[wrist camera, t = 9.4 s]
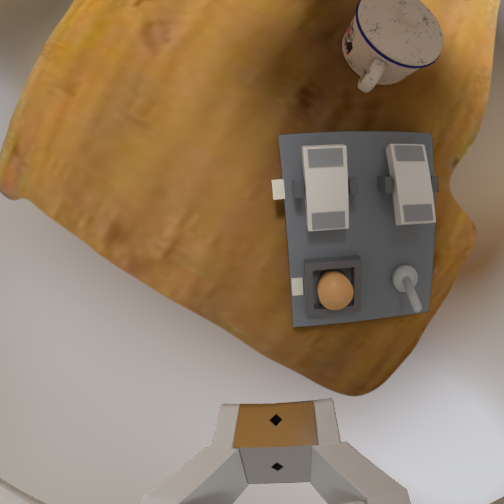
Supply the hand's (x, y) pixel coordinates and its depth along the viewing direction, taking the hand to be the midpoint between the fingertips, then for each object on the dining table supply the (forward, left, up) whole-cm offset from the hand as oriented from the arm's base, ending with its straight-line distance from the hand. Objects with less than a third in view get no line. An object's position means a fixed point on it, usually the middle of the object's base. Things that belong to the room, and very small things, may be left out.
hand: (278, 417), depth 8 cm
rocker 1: (-4, +5, -23) cm, 24 cm away
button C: (+6, +6, -25) cm, 26 cm away
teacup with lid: (-19, +13, -29) cm, 37 cm away
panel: (+1, +9, -28) cm, 30 cm away
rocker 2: (-4, +14, -23) cm, 27 cm away
